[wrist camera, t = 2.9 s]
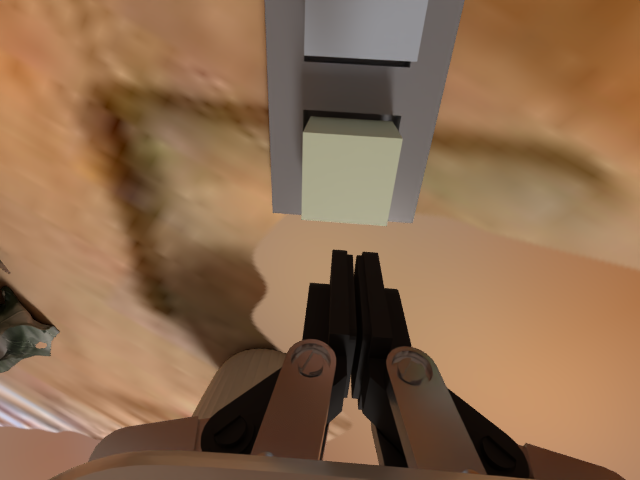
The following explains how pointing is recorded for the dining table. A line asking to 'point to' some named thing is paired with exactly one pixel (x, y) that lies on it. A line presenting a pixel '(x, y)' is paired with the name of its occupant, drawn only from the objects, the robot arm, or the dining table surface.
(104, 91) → the dining table surface
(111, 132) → the dining table surface
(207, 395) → the canister
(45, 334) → the rose bouquet
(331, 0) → the button blue
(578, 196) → the dining table surface
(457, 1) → the console
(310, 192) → the button sage
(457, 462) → the robot arm
